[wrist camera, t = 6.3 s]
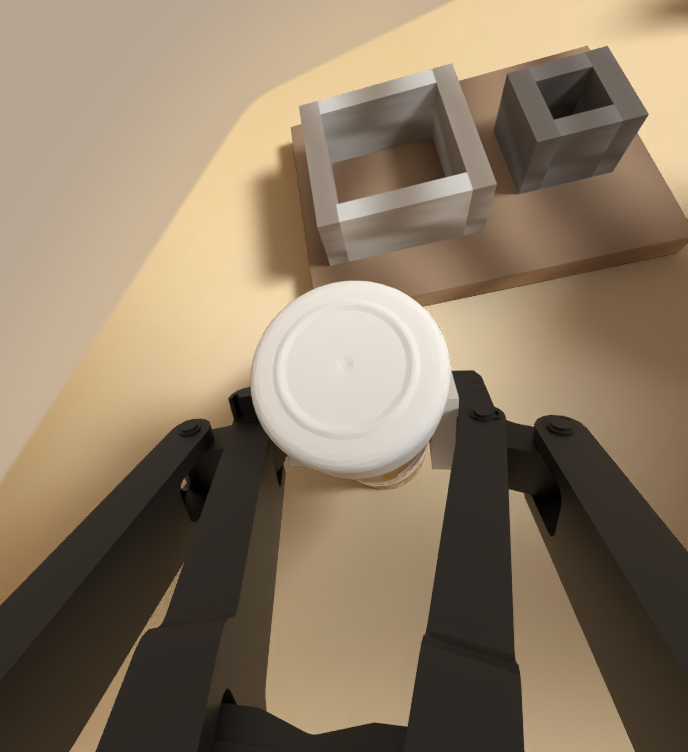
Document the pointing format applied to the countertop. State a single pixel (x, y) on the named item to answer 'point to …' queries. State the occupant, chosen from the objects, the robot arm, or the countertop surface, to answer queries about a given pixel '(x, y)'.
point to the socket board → (482, 179)
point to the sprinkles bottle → (352, 382)
